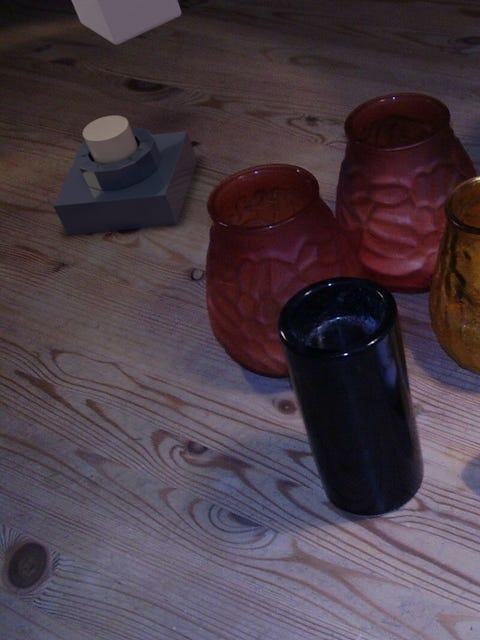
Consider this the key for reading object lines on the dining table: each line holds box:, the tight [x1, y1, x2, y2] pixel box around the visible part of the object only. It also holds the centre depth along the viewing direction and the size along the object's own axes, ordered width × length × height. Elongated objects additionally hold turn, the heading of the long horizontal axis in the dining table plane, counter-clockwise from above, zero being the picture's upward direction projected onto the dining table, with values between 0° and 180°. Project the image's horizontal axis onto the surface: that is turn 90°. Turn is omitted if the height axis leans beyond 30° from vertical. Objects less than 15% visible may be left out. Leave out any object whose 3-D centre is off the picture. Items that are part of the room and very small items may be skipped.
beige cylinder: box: [82, 114, 138, 164], centre depth 88 cm, size 4×4×3 cm
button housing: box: [52, 126, 198, 236], centre depth 91 cm, size 10×10×6 cm
